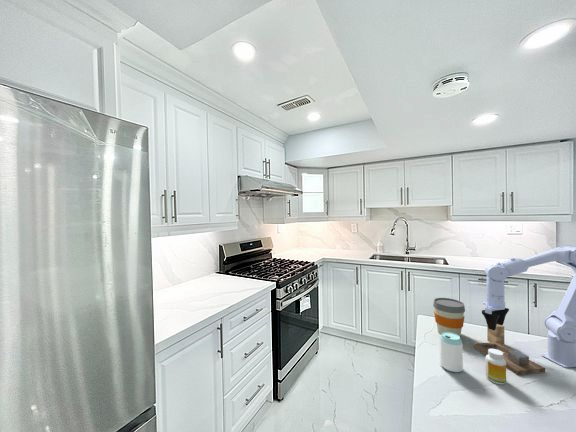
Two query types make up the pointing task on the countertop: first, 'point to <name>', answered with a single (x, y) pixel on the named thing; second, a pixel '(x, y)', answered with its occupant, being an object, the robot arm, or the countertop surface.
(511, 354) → the gray cube
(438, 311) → the reusable coffee cup
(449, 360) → the can
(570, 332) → the robot arm
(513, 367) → the brown wooden frame
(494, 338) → the oak peg
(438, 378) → the countertop surface
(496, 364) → the supplement bottle
